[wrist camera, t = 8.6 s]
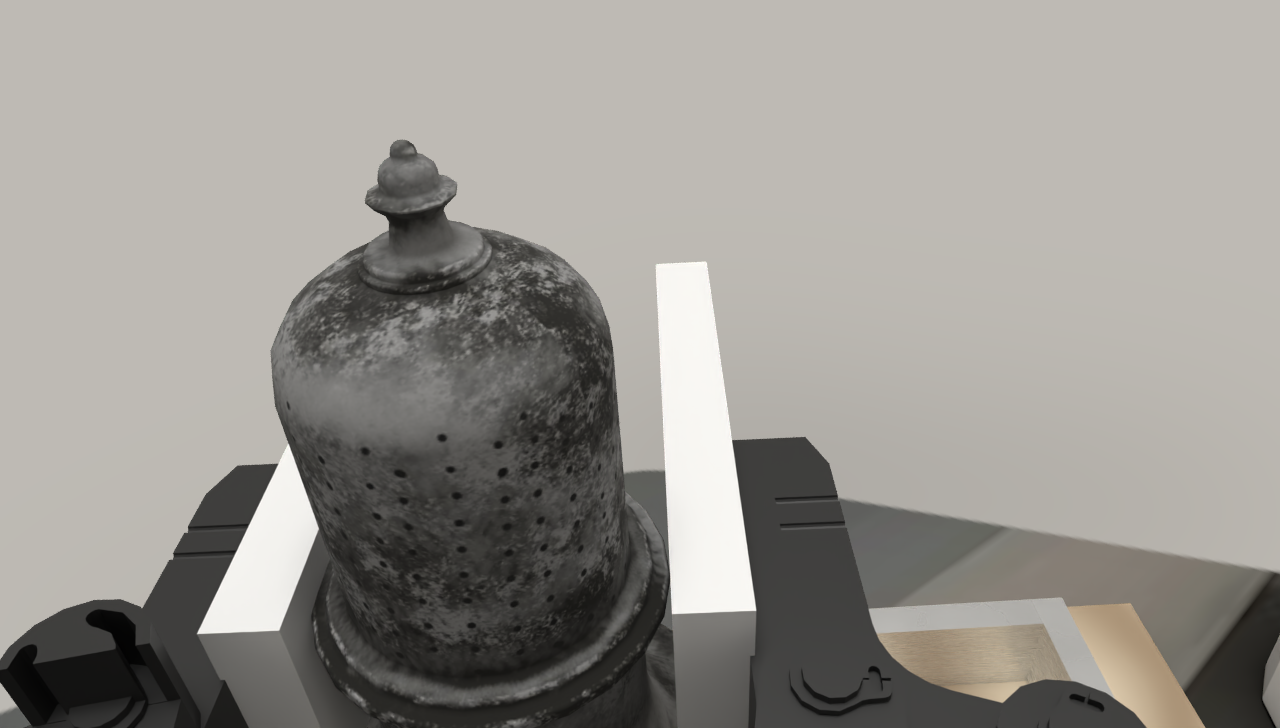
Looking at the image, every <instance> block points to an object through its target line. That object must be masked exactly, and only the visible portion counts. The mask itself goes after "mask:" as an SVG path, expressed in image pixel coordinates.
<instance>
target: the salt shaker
mask: <svg viewBox="0 0 1280 728" xmlns="http://www.w3.org/2000/svg"><path fill="white" fill-rule="evenodd" d="M456 190H457V183H456V182H455V181H453V180H452V179H450V178H449V177H447V176H444V175H439V174H438V169H437V167H436V165H435V163H434V161H432V160H430V159H429V158H427V157H426V156H424V155H423V154H418V153H417V151H416V149H415V147H414V145H413V144H412V143H410V142H409V141H407V140H397V141H395V142H394V143H393V144H392V145H391V147H390V157H389V158H387V159H386V160H384V161H383V163H382V164H381V165H380V167H379V170H378V184H377V185H376V186H374V187H373V188H371V189H369V190H368V191H367V195H366V198H365V204H367V205H368V206H369V207H370V208H372V209H373V210H374V211H376V212H378V213H380V214H382V215H384V216H386V218H387V219H388V221H389V231H387V232H385V233H382V234H381V235H379V236H378V237H377V238H375V239H374V240H372V241H371V242H369V243H367V244H365V245H363V246H361V247H359V248H357V249H354V250H352V251H350V252H349V253H347V254H346V255H344V256H343V257H342V258H340V259H339V260H337V261H336V262H335V263H333V264H332V265H330V266H329V267H328V268H327V269H325V270H324V271H323V272H321V273H320V274H319V275H317V276H316V277H315V278H314V279H312V280H311V281H310V282H309V283H308V284H307V285H306V286H305V287H304V288H303V289H302V290H301V292H300V293H299V294H298V295H297V296H296V297H295V298H294V299H293V301H292V303H291V305H290V307H289V309H288V311H287V314H286V316H285V318H284V320H283V322H282V324H281V326H280V328H279V331H278V334H277V336H276V338H275V341H274V344H273V346H272V349H271V363H272V378H273V388H274V399H275V407H276V409H277V412H278V415H279V418H280V420H281V424H282V426H283V429H284V432H285V435H286V438H287V440H288V443H289V446H290V449H291V452H292V455H293V457H294V460H295V463H296V466H297V469H298V471H299V474H300V477H301V480H302V483H303V485H304V488H305V491H306V494H307V497H308V500H309V502H310V505H311V508H312V511H313V514H314V516H315V519H316V522H317V525H318V528H319V531H320V533H321V536H322V539H323V542H324V545H325V547H326V550H327V553H328V556H329V559H330V560H329V563H328V565H327V568H326V571H325V574H324V576H323V579H322V582H321V585H320V588H319V590H318V593H317V596H316V600H315V603H314V607H313V610H312V615H311V617H312V625H313V633H314V642H315V649H316V651H317V654H318V656H319V658H320V659H321V661H322V663H323V665H324V667H325V669H326V670H327V672H328V674H329V676H330V678H331V680H332V682H333V683H334V685H335V687H336V688H337V689H338V690H339V691H340V692H341V693H343V694H344V695H345V696H346V697H347V698H348V699H350V700H351V701H352V702H353V703H354V704H355V705H356V706H358V707H359V708H360V709H361V710H362V711H363V712H364V713H366V714H367V715H369V716H370V719H369V722H368V726H367V728H678V724H677V704H676V683H675V662H674V642H673V631H672V630H670V629H669V628H667V627H666V626H664V625H662V624H661V621H662V620H663V618H664V615H665V609H666V603H667V596H668V590H669V584H670V571H669V566H668V560H667V555H666V550H665V544H664V540H663V538H662V536H661V534H660V533H659V531H658V529H657V528H656V526H655V524H654V522H653V521H652V519H651V517H650V516H649V514H648V512H647V511H646V510H645V509H644V508H643V507H642V506H641V505H640V504H639V503H637V502H636V501H635V500H634V499H633V498H632V497H631V496H630V495H629V494H628V493H626V492H625V486H624V474H623V462H622V450H621V438H620V427H619V415H618V404H617V392H616V379H615V367H614V357H613V347H612V340H611V335H610V328H609V325H608V321H607V319H606V316H605V313H604V311H603V307H602V305H601V302H600V299H599V297H598V296H597V295H596V293H595V292H594V291H593V289H592V288H591V286H590V285H589V284H588V282H587V281H586V280H585V279H584V278H583V277H582V276H581V275H580V274H579V273H578V272H577V271H576V270H574V269H573V268H572V267H571V266H570V265H569V264H568V263H567V262H566V261H565V260H564V259H562V258H561V257H559V256H558V255H556V254H554V253H553V252H552V251H550V250H549V249H547V248H546V247H543V246H540V245H538V244H535V243H532V242H529V241H526V240H523V239H521V238H517V237H514V236H511V235H508V234H504V233H502V232H499V231H494V230H488V229H482V228H476V227H471V226H469V225H466V224H464V223H461V222H455V221H449V220H448V219H447V218H446V215H445V213H444V207H445V206H446V205H447V204H448V203H449V202H450V201H451V199H452V198H453V197H454V196H455V195H456Z"/></svg>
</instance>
